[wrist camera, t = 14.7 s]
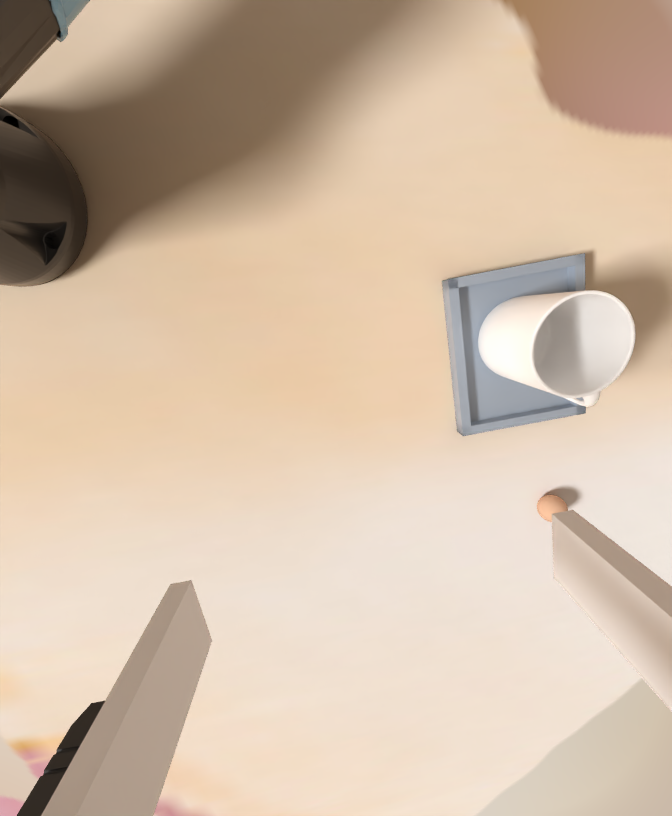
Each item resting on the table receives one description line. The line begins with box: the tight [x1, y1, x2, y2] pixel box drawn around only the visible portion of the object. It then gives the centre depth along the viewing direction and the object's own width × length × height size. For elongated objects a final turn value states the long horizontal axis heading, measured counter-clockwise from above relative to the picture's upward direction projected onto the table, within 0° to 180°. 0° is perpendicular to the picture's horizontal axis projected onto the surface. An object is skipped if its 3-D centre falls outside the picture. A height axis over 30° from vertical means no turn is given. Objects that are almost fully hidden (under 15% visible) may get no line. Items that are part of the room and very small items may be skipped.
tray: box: [442, 253, 586, 436], centre depth 39 cm, size 17×14×2 cm
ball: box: [537, 495, 568, 522], centre depth 44 cm, size 3×3×3 cm
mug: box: [478, 290, 636, 407], centre depth 34 cm, size 9×12×11 cm
